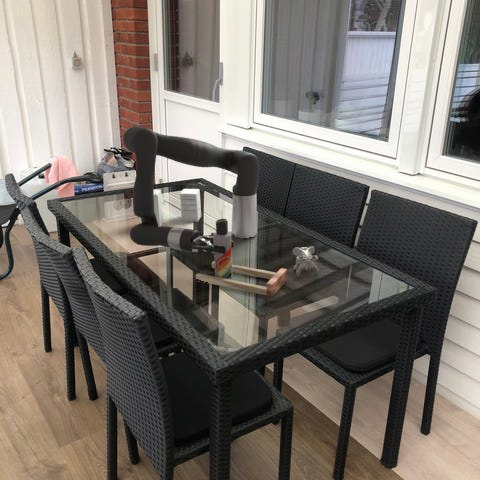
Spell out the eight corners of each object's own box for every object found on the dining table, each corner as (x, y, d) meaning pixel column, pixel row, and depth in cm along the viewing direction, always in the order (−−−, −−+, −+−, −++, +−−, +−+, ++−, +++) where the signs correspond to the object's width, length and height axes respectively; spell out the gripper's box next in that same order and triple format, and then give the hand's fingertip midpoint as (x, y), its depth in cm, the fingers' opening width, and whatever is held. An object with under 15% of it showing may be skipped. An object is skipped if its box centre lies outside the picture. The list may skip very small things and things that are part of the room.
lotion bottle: (230, 281, 164) (228, 223, 156) (213, 280, 165) (210, 222, 157) (233, 273, 169) (232, 217, 161) (217, 272, 170) (215, 216, 162)
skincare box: (150, 222, 218) (146, 188, 213) (164, 221, 218) (161, 188, 213) (146, 229, 210) (143, 194, 205) (161, 228, 210) (157, 194, 205)
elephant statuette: (300, 280, 164) (301, 258, 161) (282, 264, 174) (283, 244, 171) (324, 274, 168) (326, 253, 165) (305, 259, 178) (306, 239, 174)
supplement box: (185, 215, 225) (183, 188, 220) (201, 216, 224) (200, 188, 219) (181, 221, 218) (179, 193, 213) (198, 222, 217) (196, 193, 212)
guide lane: (214, 266, 175) (213, 255, 173) (287, 280, 163) (287, 269, 162) (196, 280, 165) (195, 269, 163) (272, 296, 153) (272, 284, 152)
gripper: (171, 236, 161) (218, 244, 154) (195, 222, 173) (239, 229, 166) (173, 257, 164) (219, 266, 157) (196, 242, 176) (240, 250, 169)
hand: (229, 247), depth 161 cm, fingers closed on lotion bottle, 4 cm apart
